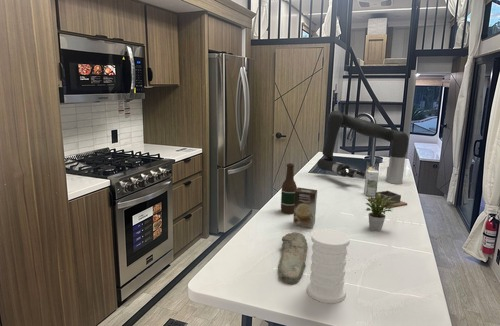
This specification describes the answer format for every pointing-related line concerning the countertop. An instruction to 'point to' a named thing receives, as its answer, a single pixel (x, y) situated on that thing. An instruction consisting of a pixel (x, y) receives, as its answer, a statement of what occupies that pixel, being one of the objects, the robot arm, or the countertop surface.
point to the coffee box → (305, 207)
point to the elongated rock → (292, 257)
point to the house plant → (377, 212)
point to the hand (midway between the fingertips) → (358, 175)
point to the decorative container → (328, 266)
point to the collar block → (389, 194)
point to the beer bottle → (288, 191)
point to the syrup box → (371, 182)
